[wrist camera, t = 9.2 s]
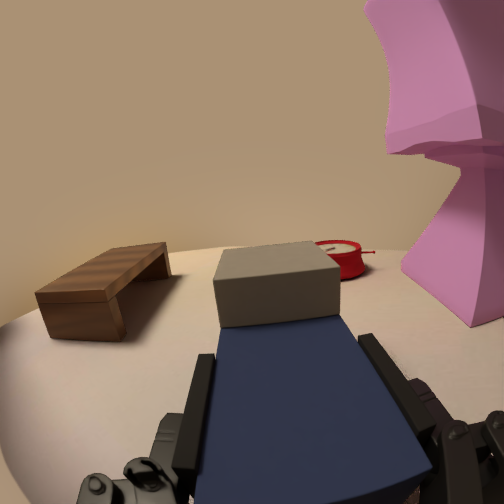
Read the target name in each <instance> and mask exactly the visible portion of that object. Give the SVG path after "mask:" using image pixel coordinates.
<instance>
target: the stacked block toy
mask: <svg viewBox="0 0 504 504" xmlns="http://www.w3.org/2000/svg"><path fill="white" fill-rule="evenodd" d="M213 285H214V292H215V298H216V304H217V310H218V316H219V322H220V327H221V330H220V336H219V342H218V348H217V354H216V360H215V366H214V372H213V378H212V384H211V390H210V397H209V403H208V409H207V416H206V422H205V429H204V435H203V442H202V449H201V455H200V462H199V469H198V475H197V482H196V489H195V497H194V504H403V503H404V502H405V500H406V499H407V498H408V497H409V496H410V495H411V494H412V493H413V491H414V490H415V489H416V488H417V487H418V486H419V484H420V483H421V482H422V481H423V479H424V478H425V477H426V476H427V474H428V473H429V472H430V470H431V469H432V465H431V463H430V461H429V459H428V457H427V456H426V454H425V452H424V450H423V448H422V447H421V445H420V443H419V441H418V440H417V438H416V436H415V434H414V433H413V431H412V429H411V428H410V426H409V424H408V422H407V421H406V419H405V417H404V416H403V414H402V412H401V411H400V409H399V407H398V406H397V404H396V402H395V401H394V399H393V397H392V396H391V394H390V393H389V391H388V389H387V388H386V386H385V384H384V383H383V381H382V380H381V378H380V376H379V375H378V373H377V372H376V370H375V368H374V367H373V365H372V364H371V362H370V361H369V359H368V357H367V356H366V354H365V353H364V351H363V350H362V348H361V347H360V345H359V344H358V342H357V340H356V339H355V337H354V336H353V334H352V333H351V331H350V330H349V328H348V327H347V325H346V324H345V322H344V321H343V319H342V318H341V316H340V315H339V314H340V266H339V265H338V264H337V263H336V262H335V261H334V260H333V259H332V258H331V257H329V256H328V255H327V254H326V253H325V252H324V251H323V250H322V249H321V248H320V247H318V246H317V245H316V244H315V243H314V242H313V241H305V242H295V243H284V244H275V245H265V246H255V247H245V248H235V249H226V250H223V253H222V256H221V259H220V262H219V264H218V267H217V270H216V273H215V276H214V278H213Z"/></svg>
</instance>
